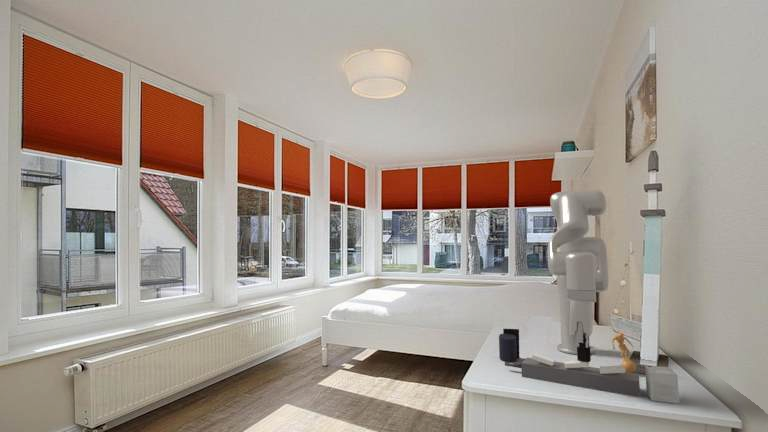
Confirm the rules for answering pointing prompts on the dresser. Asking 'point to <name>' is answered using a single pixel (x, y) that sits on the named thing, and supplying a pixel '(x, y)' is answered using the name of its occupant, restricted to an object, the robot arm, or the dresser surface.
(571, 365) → the block
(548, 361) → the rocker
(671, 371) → the skincare box
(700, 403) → the dresser surface
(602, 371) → the block
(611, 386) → the power strip
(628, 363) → the figurine
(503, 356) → the speaker
